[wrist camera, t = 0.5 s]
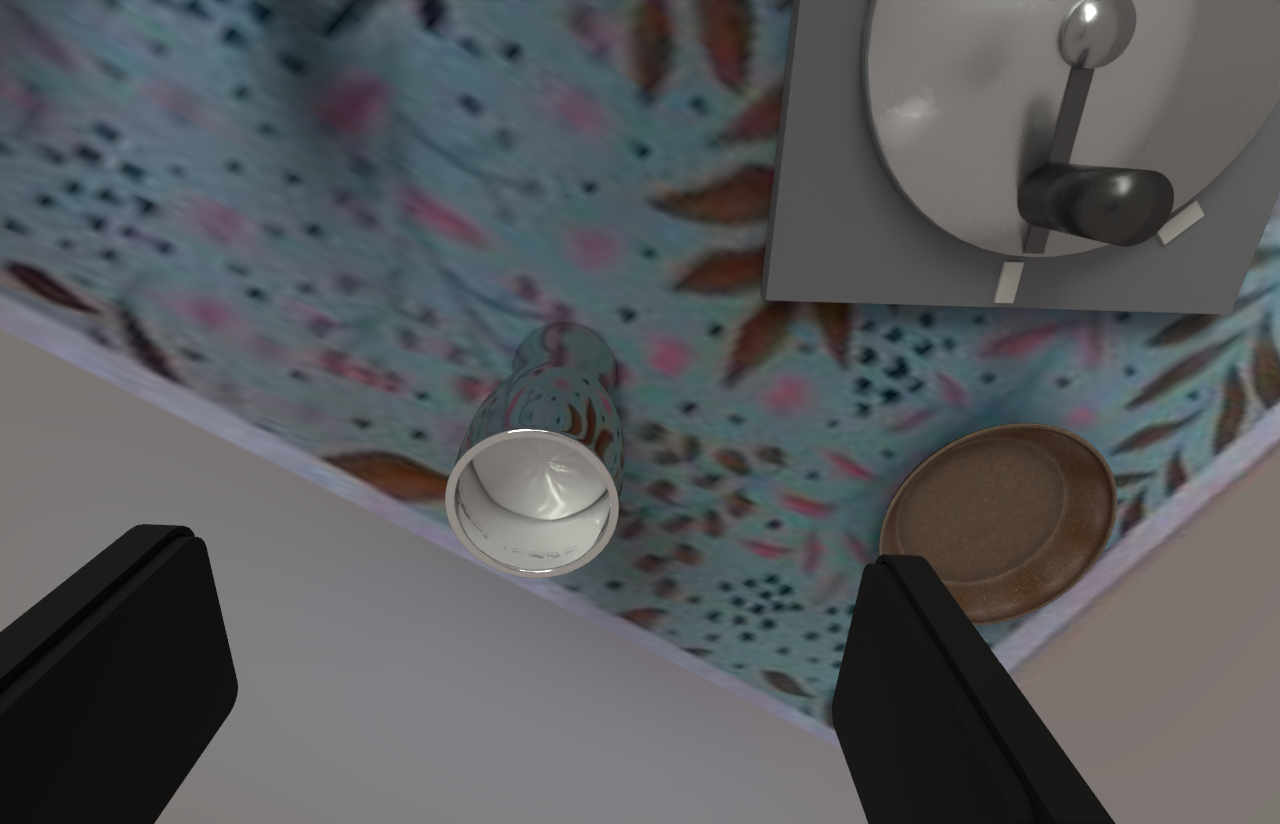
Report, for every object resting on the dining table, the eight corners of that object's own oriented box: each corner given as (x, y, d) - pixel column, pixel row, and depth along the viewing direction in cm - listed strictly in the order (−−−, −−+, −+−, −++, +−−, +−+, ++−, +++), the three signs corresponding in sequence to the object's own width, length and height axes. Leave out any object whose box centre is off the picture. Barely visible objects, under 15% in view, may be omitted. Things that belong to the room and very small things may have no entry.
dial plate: (830, -341, 26) (843, -370, 25) (1444, -301, 27) (1493, -327, 26) (760, 294, 37) (766, 301, 35) (1207, 307, 38) (1232, 315, 36)
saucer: (1099, 385, 40) (1131, 402, 37) (1083, 579, 46) (1110, 605, 43) (857, 432, 41) (872, 451, 38) (871, 616, 46) (885, 643, 44)
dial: (906, -263, 26) (1002, -396, 20) (1386, -233, 27) (1635, -352, 20) (830, 246, 34) (880, 275, 27) (1202, 259, 35) (1338, 289, 28)
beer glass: (485, 391, 39) (409, 536, 25) (540, 291, 36) (488, 390, 23) (588, 445, 40) (569, 608, 27) (646, 352, 38) (659, 479, 24)
